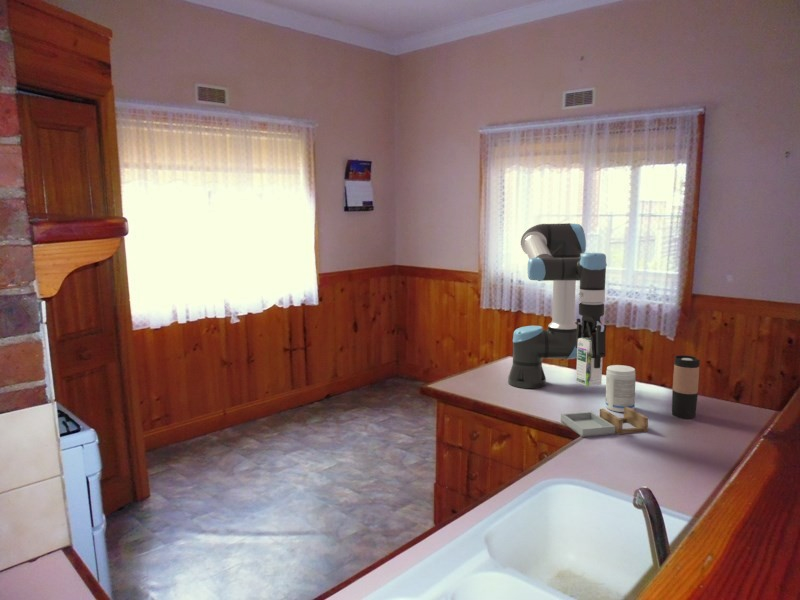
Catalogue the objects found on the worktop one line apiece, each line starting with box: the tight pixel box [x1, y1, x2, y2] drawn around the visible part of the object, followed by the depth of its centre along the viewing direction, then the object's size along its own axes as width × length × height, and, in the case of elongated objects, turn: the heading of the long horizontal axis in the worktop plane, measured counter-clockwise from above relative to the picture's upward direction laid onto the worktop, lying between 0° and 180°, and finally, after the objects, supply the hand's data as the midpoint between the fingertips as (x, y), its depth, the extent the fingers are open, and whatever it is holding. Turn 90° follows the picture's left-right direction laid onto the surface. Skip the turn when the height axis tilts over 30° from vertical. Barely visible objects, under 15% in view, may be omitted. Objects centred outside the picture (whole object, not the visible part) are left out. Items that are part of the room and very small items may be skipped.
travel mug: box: [671, 354, 701, 420], centre depth 187 cm, size 8×8×20 cm
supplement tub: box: [605, 364, 636, 413], centre depth 195 cm, size 10×10×15 cm
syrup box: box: [575, 337, 604, 388], centre depth 175 cm, size 6×6×14 cm
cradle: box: [599, 407, 649, 435], centre depth 178 cm, size 11×10×4 cm
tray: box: [560, 411, 616, 438], centre depth 178 cm, size 14×11×2 cm
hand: (589, 374), depth 176 cm, fingers closed on syrup box, 6 cm apart
